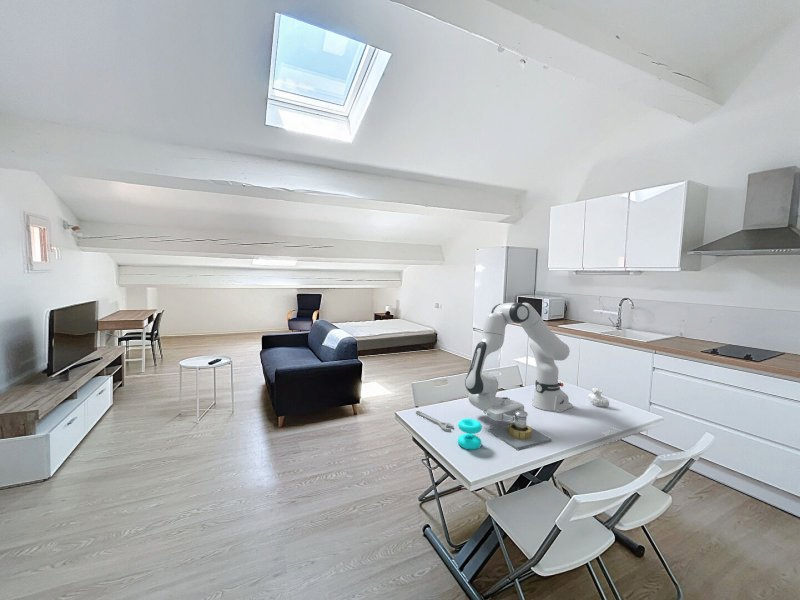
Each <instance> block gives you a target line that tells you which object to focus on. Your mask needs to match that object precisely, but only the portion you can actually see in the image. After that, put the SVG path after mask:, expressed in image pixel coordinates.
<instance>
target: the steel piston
mask: <svg viewBox="0 0 800 600" xmlns="http://www.w3.org/2000/svg"><path fill="white" fill-rule="evenodd" d="M524 411H525V410H524ZM524 411H521V410H517V411H515V416H514V423H515V424H514V429H515V430H518V431H526V425H527V417H528V415H527V413H528V412H527V411H525V412H524ZM526 412H527V413H526Z"/></svg>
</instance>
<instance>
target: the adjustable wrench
mask: <svg viewBox="0 0 800 600" xmlns="http://www.w3.org/2000/svg"><path fill="white" fill-rule="evenodd" d="M416 414H417V416H418V415H419V416H418V417H420V416H421V417H420V418H422V417H423V419H424V418H426V419H427V421H428V420H429V422H431V423H433V424H435V425H436V426H438V427H439V428H440V430H441V431H443V432H448V433H450V432H452V430H453V429H454V425H453V424H451V423H450V422H445V421H440V420H439V419H436V418H434V417H432V416H430V415H428V414H426V413H425V412H422V411H420V410H416V411H415V415H416ZM426 419H425V420H426Z"/></svg>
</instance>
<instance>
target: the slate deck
mask: <svg viewBox="0 0 800 600" xmlns="http://www.w3.org/2000/svg"><path fill="white" fill-rule="evenodd" d="M508 425H509V424H508ZM508 425H504V426H503V425H502V426H499V427H498V426H497V427H495V428H494V427H493V428H490V429H488V432H489V433H490V434H493V435H494V436H496V437H497V438H498V439H500V440H501V441H503V442H504V443H506V445H509V446H510V447H512V449H514V450H516V451H517V450H521V449H526V448H530V447H533V446H537V445H538V446H539V445H542V444H546V443H550V442H552V440H553V439H552V438H550V437H549V436H547V435H545V434H543V433H542V432H540V431H538V430H537V429H535V428H533V427H531V429H532V436H531V438H530V439H517V438H514V437H512V436H510V435H509V434H508ZM529 446H530V447H529Z"/></svg>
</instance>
